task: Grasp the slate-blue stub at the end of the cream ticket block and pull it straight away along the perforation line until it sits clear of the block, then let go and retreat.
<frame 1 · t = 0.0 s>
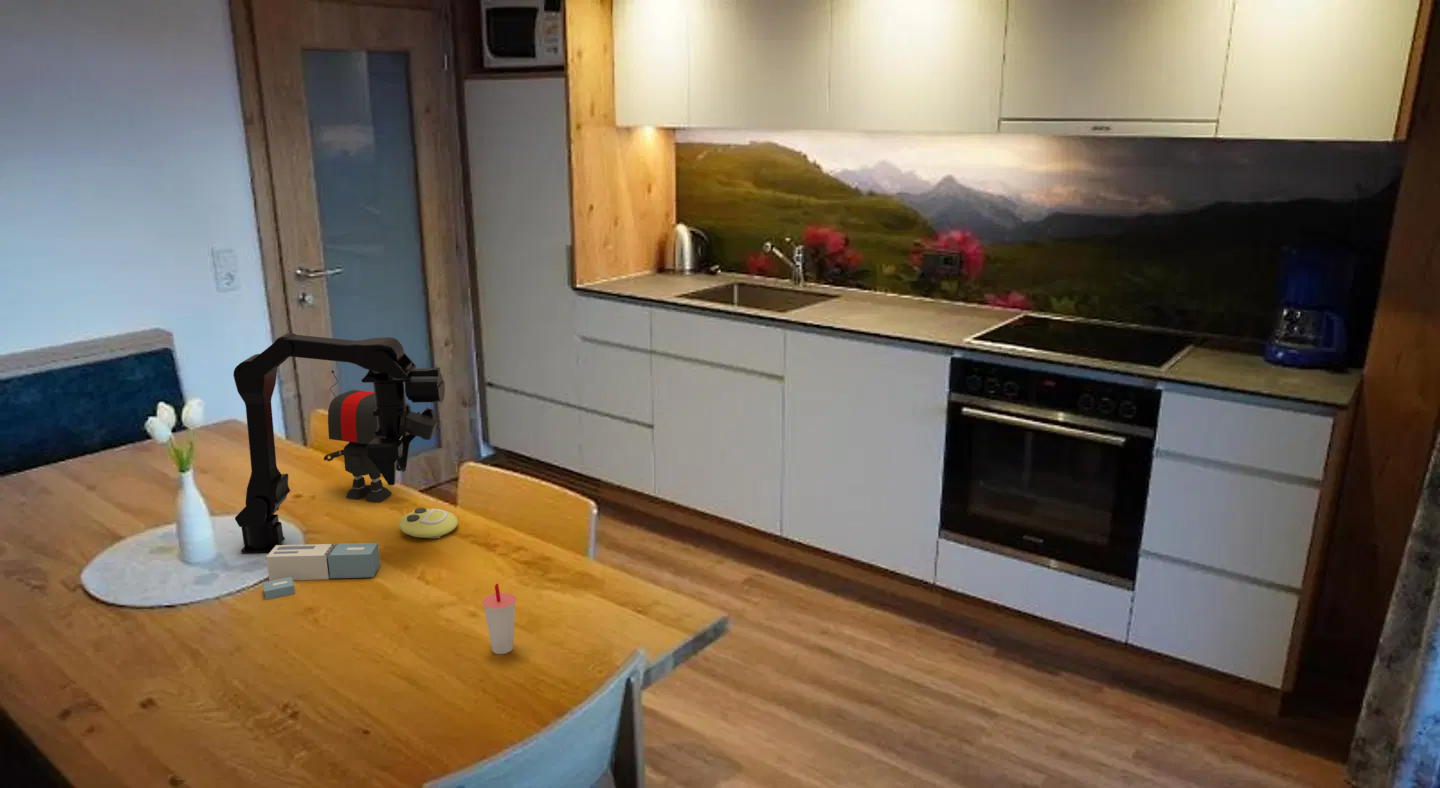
hand: (397, 476, 196), 15 cm above the table, fingers open, 9 cm apart
ticket block: (303, 574, 187), on the table
toy robot: (369, 496, 224), on the table
emoji: (429, 532, 206), on the table
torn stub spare: (279, 593, 180), on the table
stub: (354, 560, 186), point 3 cm above the table, slide at 0.0 cm
cup: (502, 649, 161), on the table
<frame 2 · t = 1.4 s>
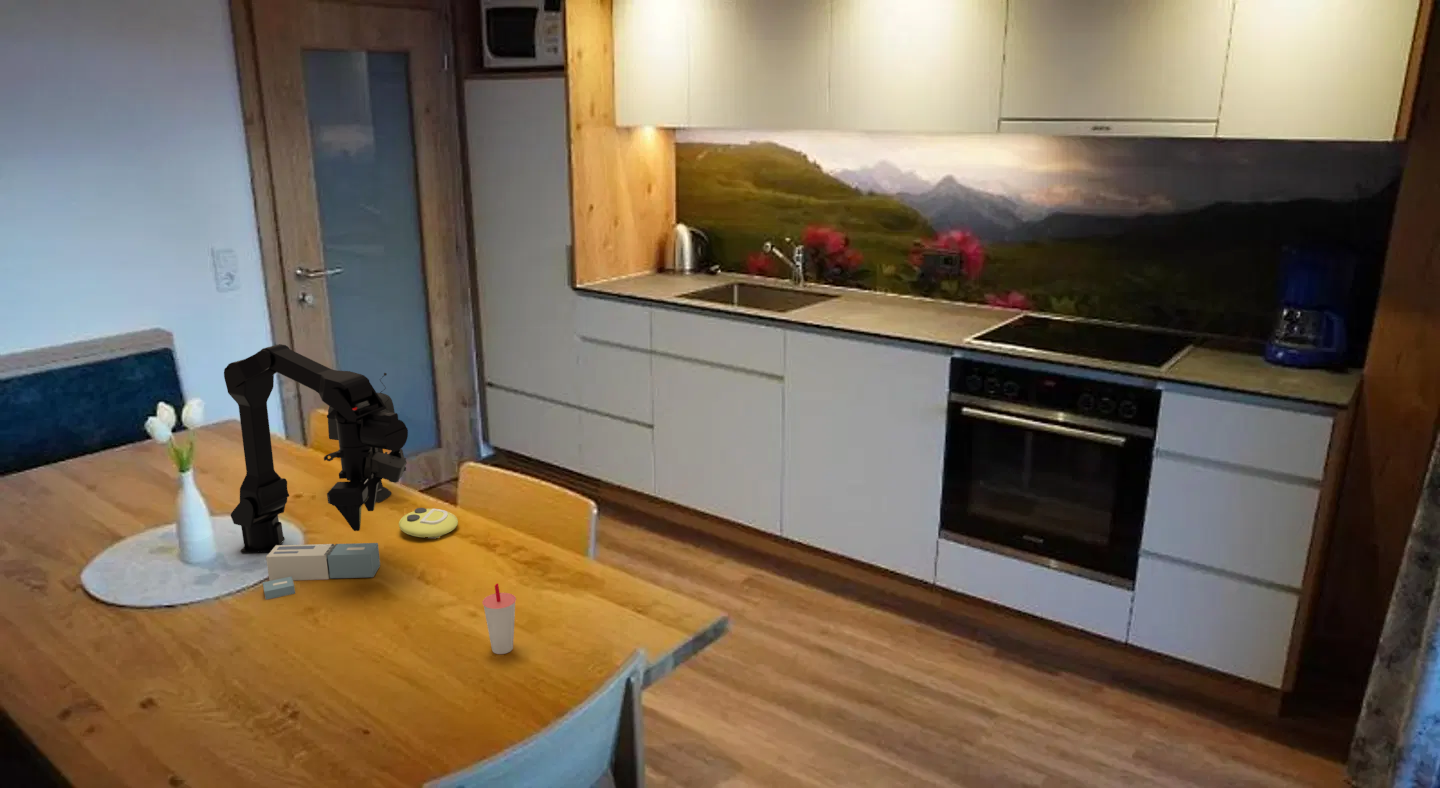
hand: (364, 520, 184), 11 cm above the table, fingers open, 9 cm apart
nothing on the table moved.
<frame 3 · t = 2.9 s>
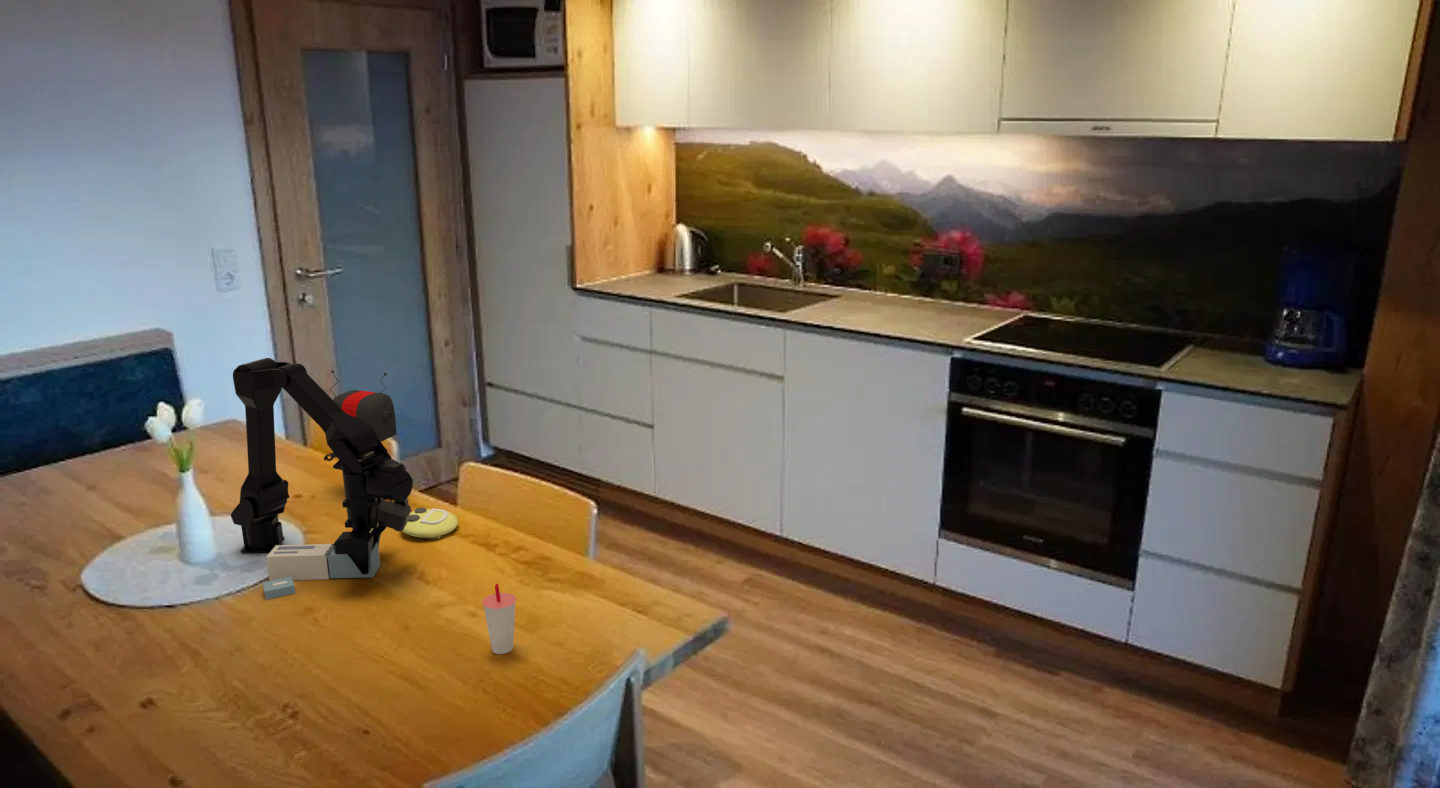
hand: (369, 567, 187), 1 cm above the table, fingers closed on stub, 5 cm apart
stub: (354, 560, 186), point 3 cm above the table, slide at 0.0 cm, touching gripper
everything else where it was.
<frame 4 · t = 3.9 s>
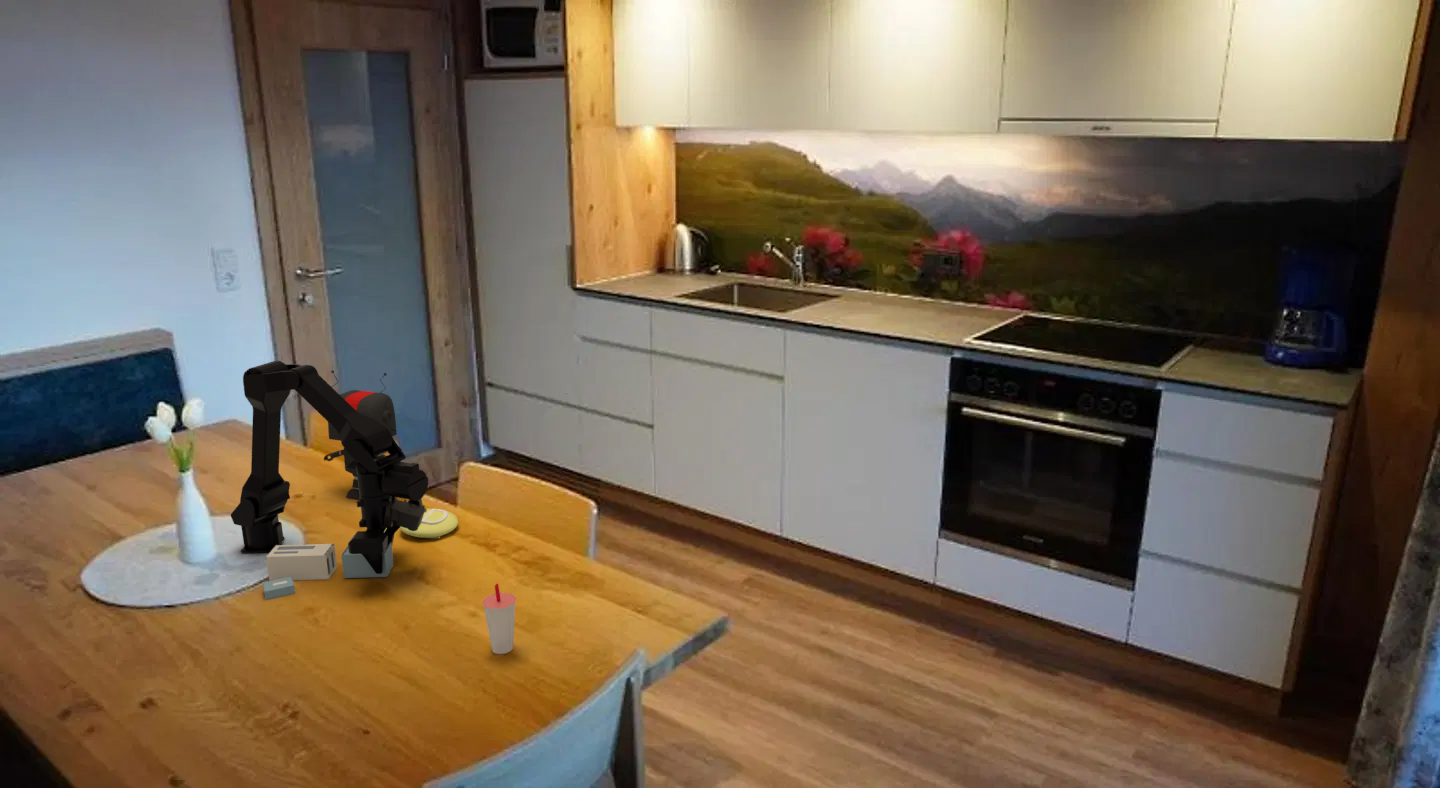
hand: (383, 567, 187), 1 cm above the table, fingers closed on stub, 5 cm apart
stub: (368, 559, 187), point 3 cm above the table, slide at 2.6 cm, touching gripper
everything else where it was.
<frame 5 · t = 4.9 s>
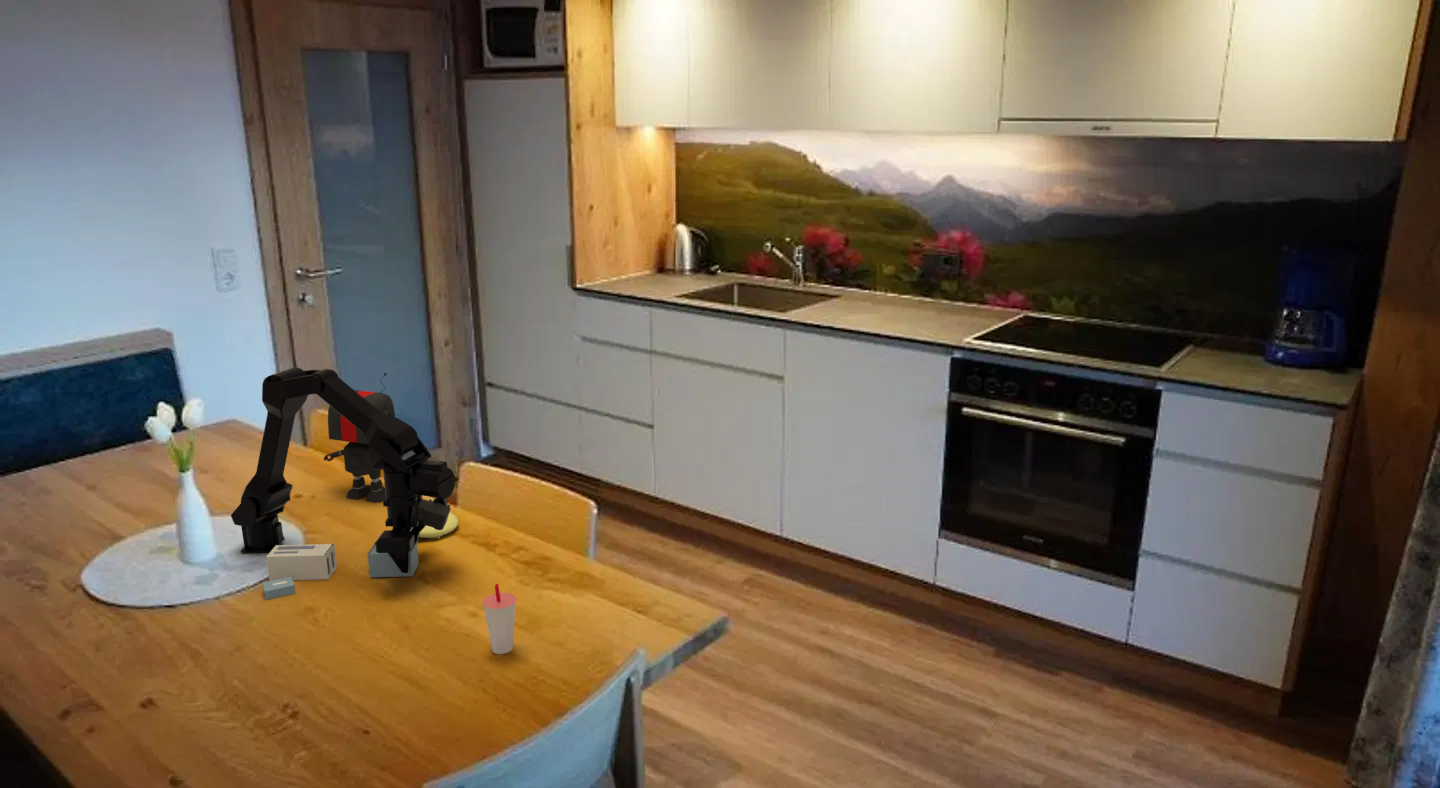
hand: (408, 566, 188), 1 cm above the table, fingers closed on stub, 5 cm apart
stub: (393, 559, 187), point 3 cm above the table, slide at 7.4 cm, touching gripper
everything else where it was.
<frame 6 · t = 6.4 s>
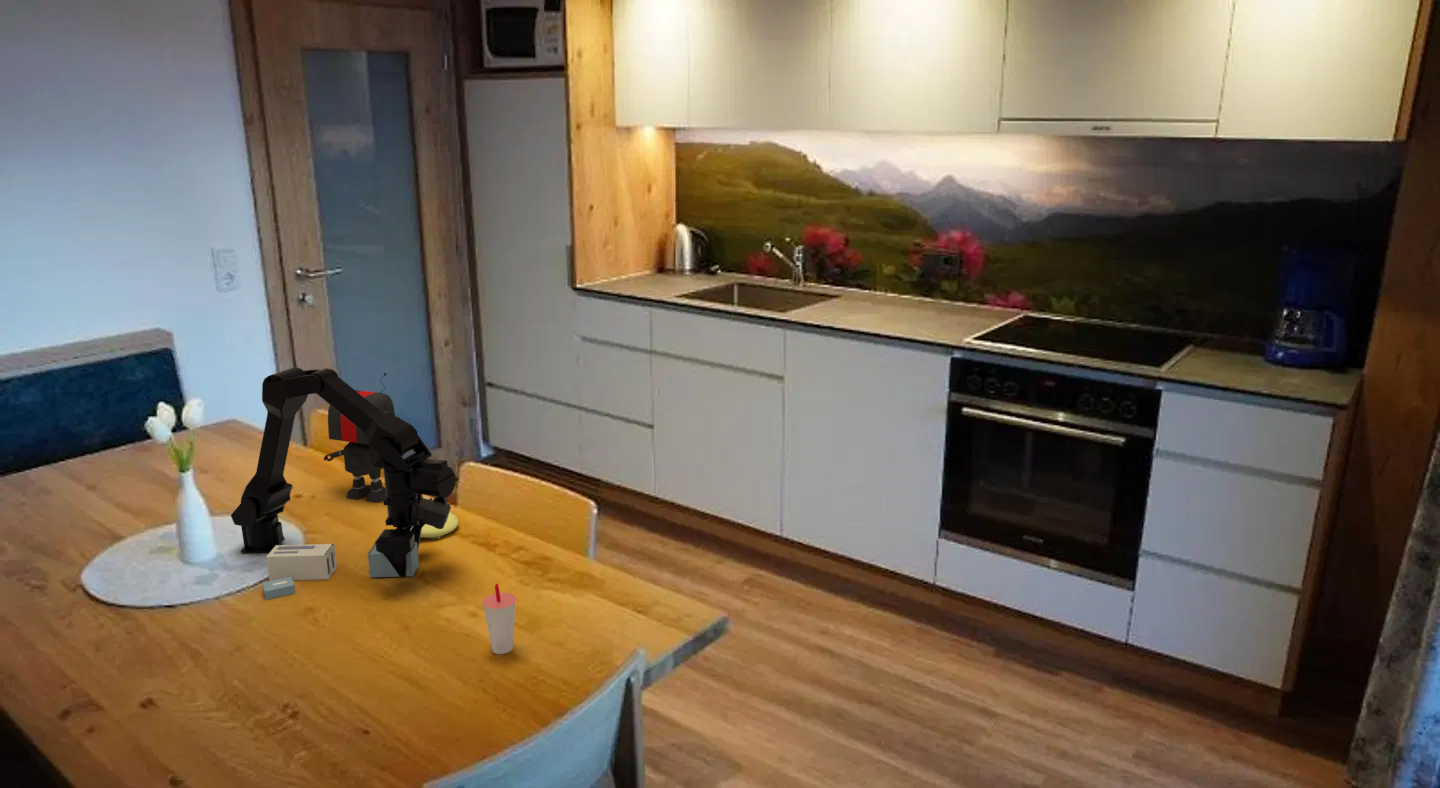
hand: (408, 565, 187), 1 cm above the table, fingers open, 9 cm apart
stub: (393, 559, 187), point 3 cm above the table, slide at 7.4 cm
everything else where it was.
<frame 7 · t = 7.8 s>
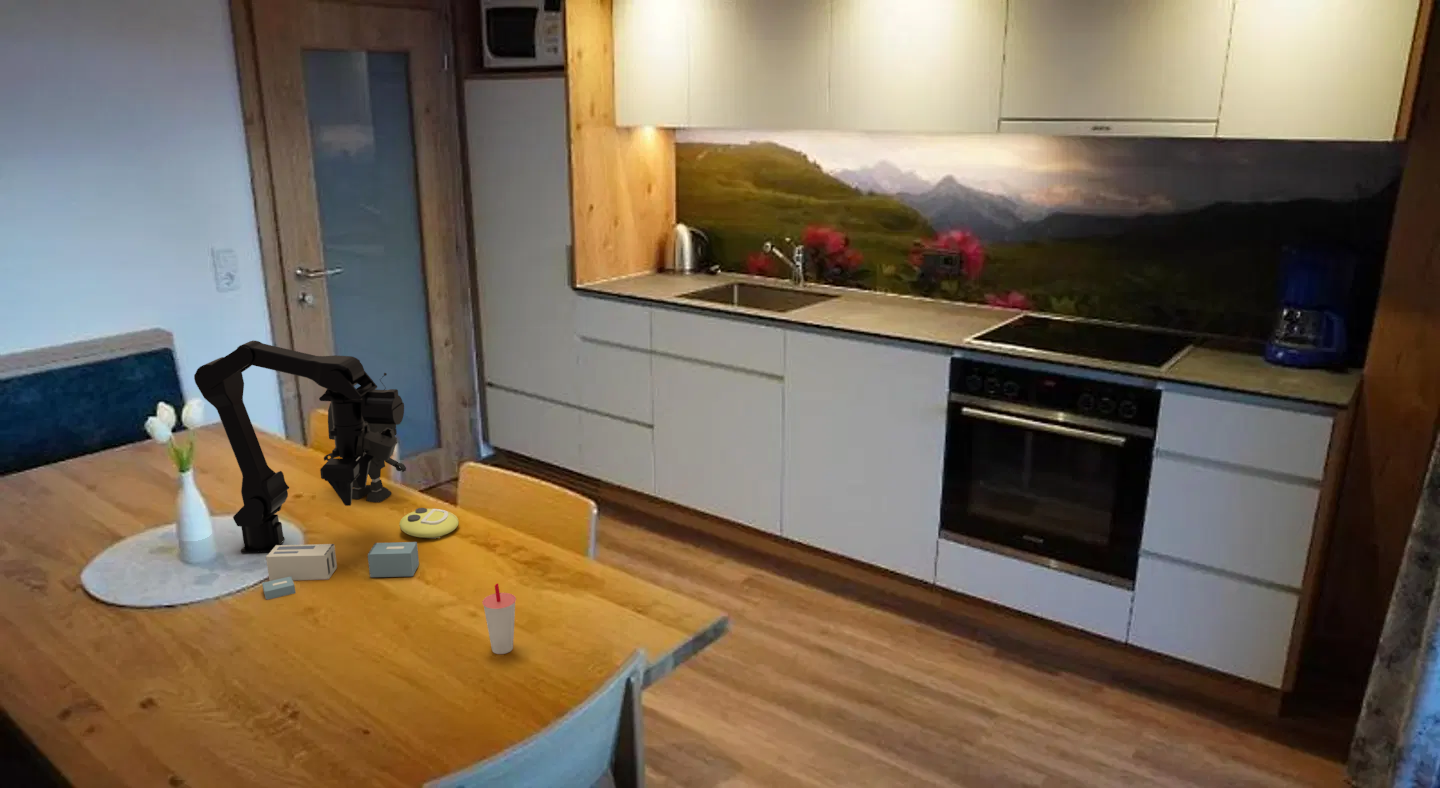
hand: (355, 496, 194), 12 cm above the table, fingers open, 9 cm apart
nothing on the table moved.
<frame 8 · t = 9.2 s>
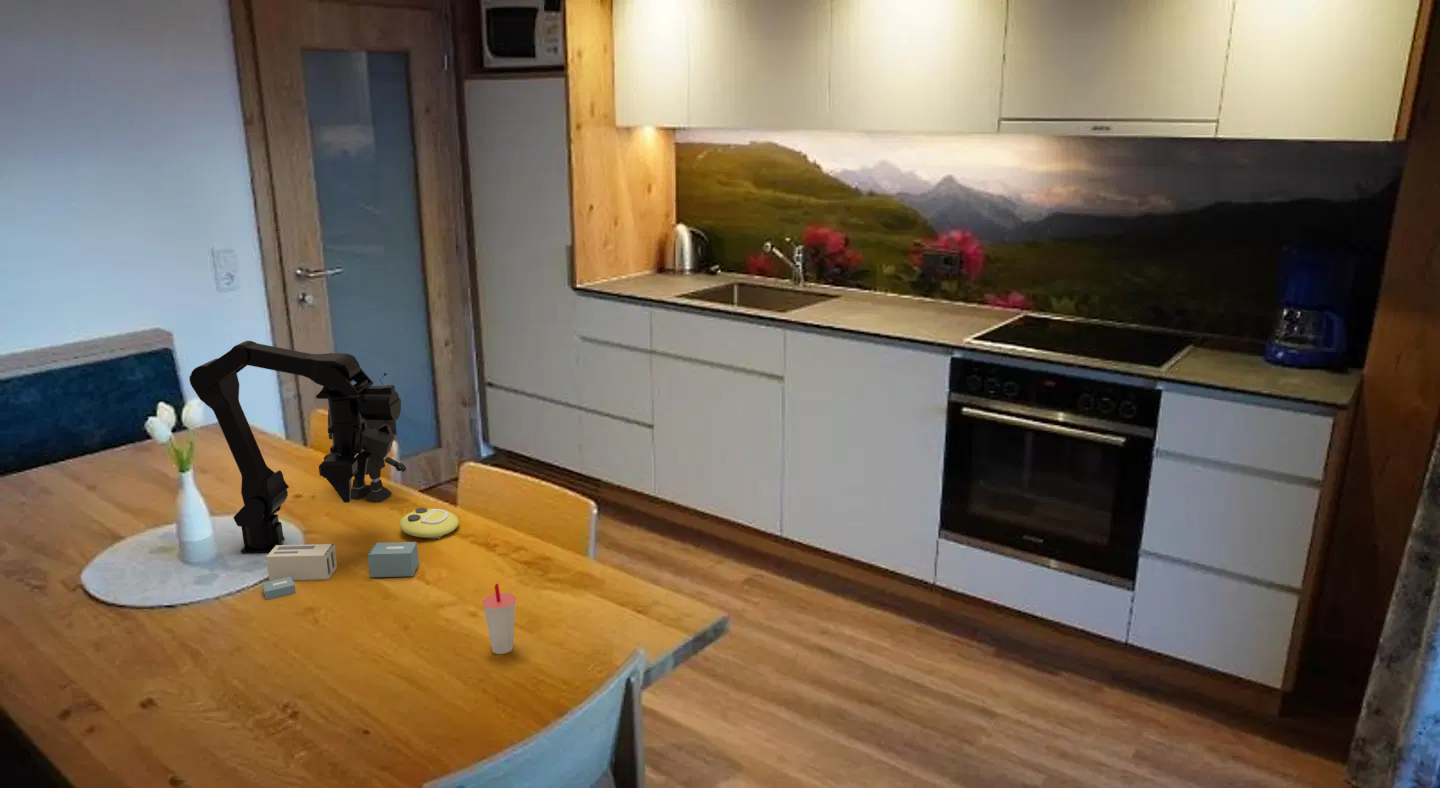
hand: (354, 493, 194), 12 cm above the table, fingers open, 9 cm apart
nothing on the table moved.
at the end: stub slide at 7.4 cm; the gripper is holding nothing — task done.
